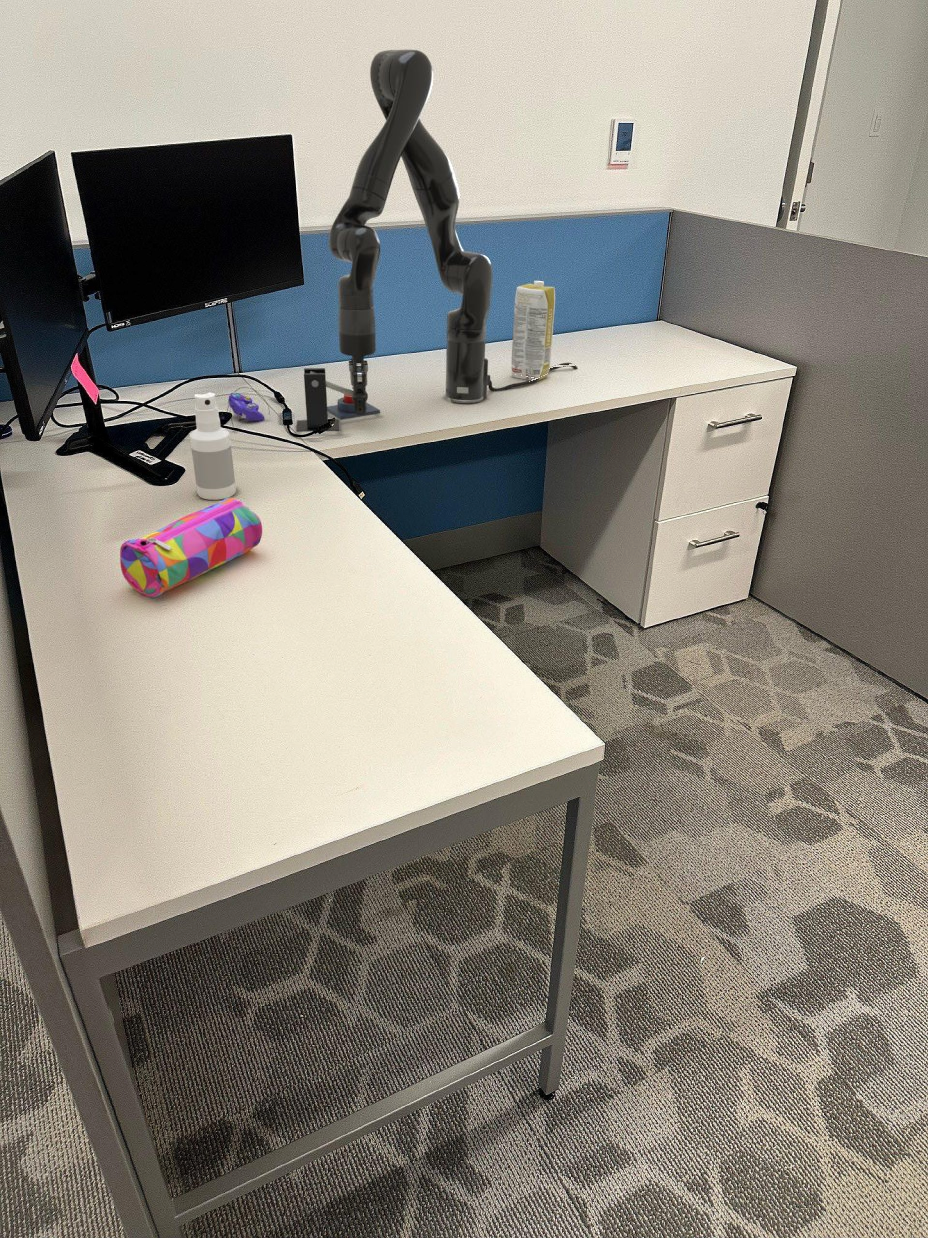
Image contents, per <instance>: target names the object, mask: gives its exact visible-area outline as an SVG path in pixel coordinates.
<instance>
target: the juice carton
mask: <svg viewBox="0 0 928 1238" xmlns="http://www.w3.org/2000/svg"><path fill="white" fill-rule="evenodd" d="M544 285H545V281H541V280H533V284H532V283H526V284H522V285H519V286H516V291H515V296H514V307H513V309H514V310H513V327H512V345H511V346H512V347H511V361H510V362H511V367H510V368H511V376H512V377H513V378H516V379H520V380H525V381H529V380H532V379H535V378H538V379H539V380H538V381H537V382H539V381H542V380H544V379H546V378H548V376H549V373H550V371H549V368H550V367H551V361H552V360H551V359H552V347H553V346H552V345H553V334H554V322H555V308H556V288H555V287H554V286H544ZM548 372H549V373H548ZM547 373H548V374H547ZM515 374H516V375H515ZM545 374H547V375H545ZM521 375H522V376H521ZM543 375H545V376H543ZM526 376H528V377H526ZM541 376H542V377H541ZM531 377H534V378H531ZM539 377H540V378H539Z"/></svg>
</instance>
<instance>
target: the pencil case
mask: <svg viewBox="0 0 928 1238" xmlns="http://www.w3.org/2000/svg"><path fill="white" fill-rule="evenodd" d="M262 537H263V524H262V521H261V519H260V517H259V516H258V515H257V513H255V512H254V511H252V510H250V508H249V507H247V506H246V505H244V504H243V502H242V501H240V500H237V499H236V498H234V497H228V498H224V499H222V500H220V501H218V502H217V503H214V504H212V505H209V506H207V507H205V508H203V509H200V510H197V511H195V512H191V513H190V514H187V515H185V516H183V517H181V518H179V519H177V520H175V521H172V522H171V523H169V524H167V525H166V526H163V527H162V528H160V529H158V530H156V531H153V532H152V533H149V534H147V535H145V536H143V537H141V538H132V539H129V540H126V541H124V542H123V543H122V544H121V546H120V549H119V561H120V562H119V565H120V570H121V573H122V576H123V578H124V579H125V581H126V582H127V583H128V584H129V586H130V587H131V588H132V589H134V590H135V591H137V592H139V593H140V594H142V595H144V596H146V597H149V598H157V597H159V596H160V595H162V594H163V593H165V592H167V591H169V590H173V588H176V587H178V586H180V585H182V584H185V583H187V582H190V581H192V580H194V579H196V578H198V577H199V576H201V575H203V574H205V573H207V572H209V571H211V570H213V569H216V568H217V567H219V566H221V565H225V564H226V563H228V562H230V561H232V560H233V559H235V558H238V557H241V556H242V555H244V554H246V553H248V552H249V551H251V550H253V549H254V548H255V547H257V546H258V545H259V544H260V543H261V540H262Z"/></svg>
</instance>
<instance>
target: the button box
mask: <svg viewBox="0 0 928 1238" xmlns="http://www.w3.org/2000/svg"><path fill="white" fill-rule="evenodd" d="M327 412H328V413H329V414H330V415H332V416H334V417H336V418H337V419H338V420H340V421H341V420H347V419H353V418H360V417H365V416H371V415H376V414H377V415H378V414H381V410H380V409H379V408H378V407H376V406H374V405H372V404H370V403H369V402H368V400H367V401H366V402H365V414H364V415H356V414H355V408H354V403H345V402H344V396H343V397H341V398H338V399H337V403H336V404H335V405H327Z"/></svg>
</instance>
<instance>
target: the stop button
mask: <svg viewBox="0 0 928 1238" xmlns="http://www.w3.org/2000/svg"><path fill="white" fill-rule="evenodd" d="M343 397H344V402H345V403H354V401H353V399H352V396H349V395H346V394H344V393H343Z"/></svg>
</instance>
